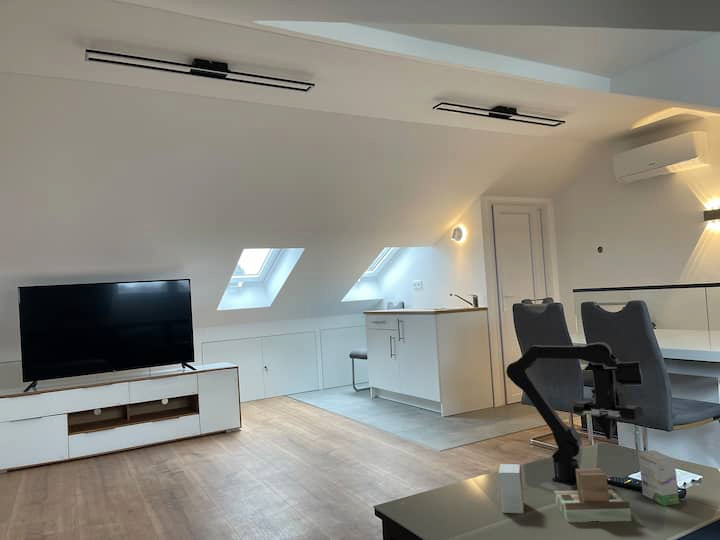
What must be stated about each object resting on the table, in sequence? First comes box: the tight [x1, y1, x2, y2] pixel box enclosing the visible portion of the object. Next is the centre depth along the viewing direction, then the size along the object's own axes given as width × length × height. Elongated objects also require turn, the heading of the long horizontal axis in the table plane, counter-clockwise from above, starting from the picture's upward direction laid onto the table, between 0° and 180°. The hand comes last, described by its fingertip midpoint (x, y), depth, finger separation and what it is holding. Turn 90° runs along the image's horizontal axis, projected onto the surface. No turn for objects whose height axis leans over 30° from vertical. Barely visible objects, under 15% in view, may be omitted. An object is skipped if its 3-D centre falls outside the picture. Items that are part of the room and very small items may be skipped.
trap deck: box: [553, 489, 632, 523], centre depth 135 cm, size 13×15×4 cm
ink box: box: [638, 450, 680, 507], centre depth 139 cm, size 8×5×12 cm, turn 6°
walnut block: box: [576, 467, 609, 503], centre depth 132 cm, size 5×6×8 cm
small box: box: [497, 463, 525, 514], centre depth 141 cm, size 8×6×10 cm
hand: (609, 439), depth 153 cm, fingers closed
